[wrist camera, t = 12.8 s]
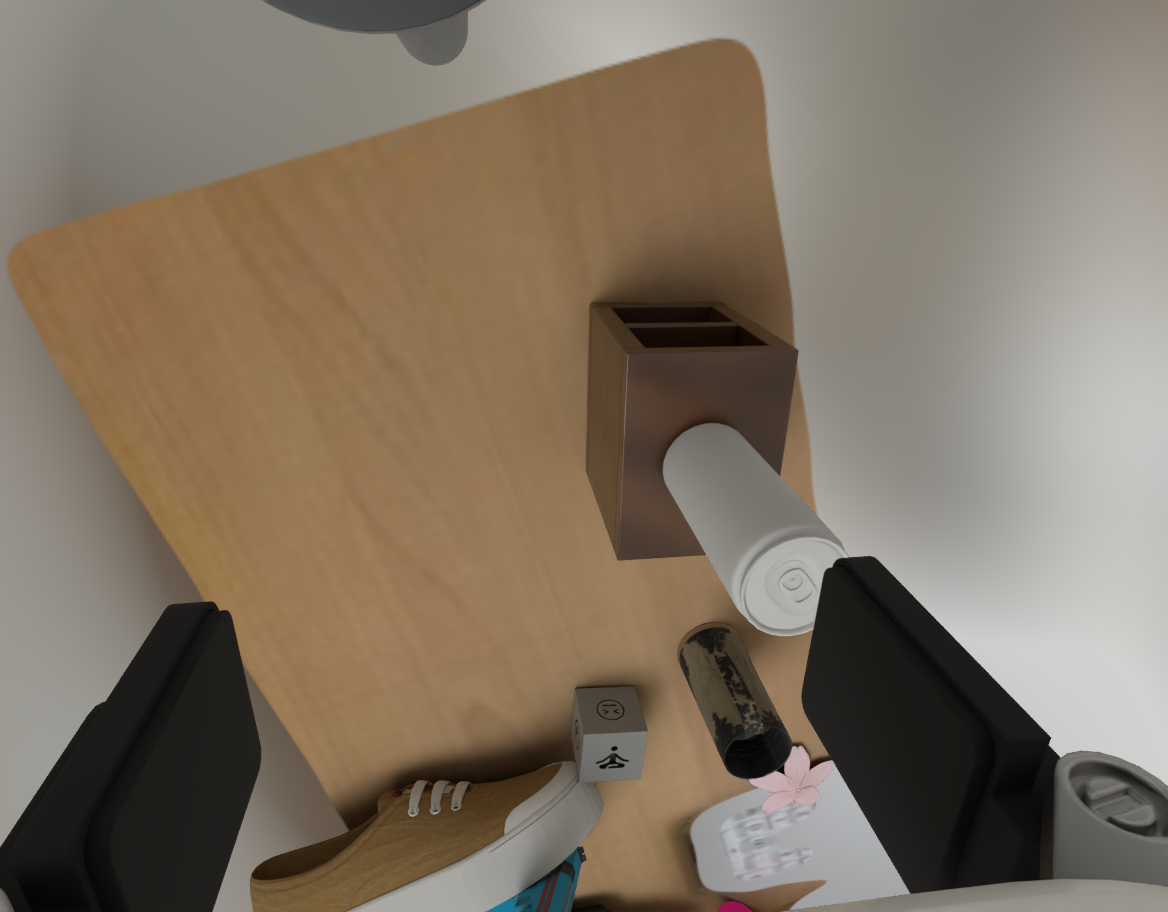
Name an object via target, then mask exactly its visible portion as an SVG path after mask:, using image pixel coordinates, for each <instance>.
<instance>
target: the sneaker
mask: <svg viewBox="0 0 1168 912" xmlns="http://www.w3.org/2000/svg"><path fill="white" fill-rule="evenodd" d="M603 805H604V803H603V800H602V798H601V796H600V794H599V792H598V790H597V788H596V786H595V782H583V783H579V780H578V774H577V768H576V762H573V761H562V762H557V763H553V764H550V765H548V766H545V767H543V768H540V769H538V770H536V771H533V772H530V773H527V774H523V775H520V776H517V777H513V778H510V779H506V780H502V781H497V782H490V783H479V784H471V783H470V782H466V781H460V782H459V783H458V784H452V783H451V782H449V781H437V782H436V783H435V784H431V782H429V781H423V780H418V781H417V782H416V783H415V784H410V785H406V786H404V787H403V788H402V789H397V790H392V791H389V792H386V793H383V794H382V795H381V796H380V798H379V800H378V812H377V813H376V814H375V815H374V816H372V817H371V818H370V819H368V820H367V821H366V822H364V823H363V824H362V825H360V826H359V827H357V828H355V829H353V830H351V831H349V832H347V833H345V834H343V835H341V836H338V837H335V838H332V839H329V840H326V841H323V842H320V843H317V844H314V845H310V846H307V847H304V848H300V849H297V850H293V851H291V852H287V853H284V854H281V855H278V856H275V857H272V858H270V859H268V860H266V861H264V862H263V863H261V864H260V865H259V866H257V867H256V868H255V870H254V871H253V872H252V875H251V878H250V894H251V900H252V907H253V912H486V911H488V910H490V909H492V908H494V907H495V906H497V905H499V904H501V903H503V902H505V901H506V900H508V899H510V898H512V897H514V896H515V895H517V894H519V893H520V892H522V891H523V890H525V889H526V888H528V887H529V886H531V885H532V884H534V883H535V882H536V881H538V880H539V879H541V878H542V877H544V876H545V875H546V874H548V873H549V872H550V871H552V870H553V869H554V868H556V867H557V866H558V865H559V864H560V863H562V862H563V861H564V860H565V859H566V858H567V857H568V856H569V855H570V854H571V853H573V852H574V850H575V849H576V848H577V847H578V846H579V845H580V844H581V843H582V842H583V841H584V840H585V838H586V837H587V836H588V834H589V833H590V832H591V830H592V829H593V827H594V825H595V824H596V822H597V820H598V818H599V816H600V814H601V811H602V809H603Z"/></svg>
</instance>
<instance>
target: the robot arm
mask: <svg viewBox="0 0 1168 912" xmlns="http://www.w3.org/2000/svg"><path fill="white" fill-rule="evenodd" d="M802 704H803V709H804V712H805V714H806V716H807V718H808V720H809V721H810V723H811V725H812V726H813V728H814V730H815V732H816V733H817V735H818V737H819V738H820V740H821V742H822V744H823V745H824V747H825V749H826V750H827V752H828V754H829V755H830V757H831V759H832V761H833V762H834V764H835V766H836V767H837V769H838V771H839V772H840V774H841V776H842V778H843V779H844V781H845V783H846V784H847V786H848V788H849V790H850V791H851V793H852V795H853V796H854V798H855V800H856V801H857V803H858V805H859V807H860V808H861V810H862V812H863V813H864V815H865V817H866V819H867V820H868V822H869V823H870V825H871V827H872V829H873V830H874V832H875V834H876V836H877V837H878V839H879V841H880V842H881V844H882V846H883V848H884V849H885V851H886V853H887V854H888V856H889V858H890V859H891V861H892V863H893V865H894V866H895V868H896V870H897V871H898V873H899V875H900V876H901V878H902V880H903V882H904V883H905V885H906V887H907V888H908V890H909V892H910V894H906V895H899V896H892V897H885V898H877V899H870V900H862V901H855V902H848V903H842V904H833V905H826V906H819V907H811V908H804V909H797V910H789V911H782V912H1168V786H1167V785H1166V784H1164V783H1163V782H1162V781H1161V780H1159V779H1158V778H1157V777H1155V776H1154V775H1152V774H1150V773H1149V772H1147V771H1145V770H1143V769H1142V768H1141V767H1139V766H1136V765H1134V764H1132V763H1130V762H1127V761H1125V760H1123V759H1121V758H1118V757H1115V756H1111V755H1107V754H1103V753H1100V752H1090V751H1078V752H1072V753H1067V754H1066V755H1064V756H1063V757H1062V758H1060V757H1059V756H1058V754H1057V753H1056V752H1055V751H1054V750H1053V749H1052V748H1051V747H1050V746H1049V742H1050V739H1051V737H1050V736H1049V735H1048V734H1047V733H1046V732H1045V731H1044V730H1043V729H1042V728H1041V727H1040V726H1039V725H1038V724H1037V723H1036V722H1035V721H1034V720H1033V719H1032V718H1031V717H1030V715H1028V713H1027V712H1026V711H1025V710H1024V709H1023V708H1022V707H1021V706H1020V705H1019V704H1018V703H1017V702H1016V701H1015V700H1014V699H1013V698H1012V697H1011V696H1010V695H1009V694H1008V693H1007V692H1006V691H1005V690H1004V689H1003V688H1002V687H1001V686H1000V685H999V684H998V683H997V682H996V681H995V680H994V679H993V678H992V677H991V676H990V675H989V673H988V672H987V671H986V670H985V669H984V668H983V667H982V666H981V665H980V664H979V663H978V662H977V661H976V660H975V659H974V658H973V657H972V656H971V655H970V654H969V653H968V652H967V651H966V650H965V649H964V648H963V647H962V646H961V645H960V644H959V643H958V642H957V641H956V640H955V639H954V638H953V636H952V635H951V634H950V633H949V632H948V631H947V630H946V629H945V628H944V627H943V626H942V625H941V624H940V623H939V622H938V621H937V620H936V619H935V618H934V617H933V616H932V615H931V614H930V613H929V612H928V611H927V610H926V609H925V608H924V607H923V606H922V605H921V604H920V603H919V602H918V601H917V600H916V599H915V598H914V597H913V595H912V594H910V592H909V591H908V590H907V589H906V588H905V587H904V586H903V585H902V584H901V583H900V582H899V581H898V580H897V579H896V578H895V577H894V576H893V575H892V574H891V573H890V572H889V571H888V570H887V569H886V568H885V567H884V566H883V565H882V564H881V563H880V562H879V561H878V560H877V559H876V558H874V557H871V556H864V557H849V558H839V559H837V560H836V561H835V562H834V564H833V566H832V567H831V568H827V569H826V570H825V572H824V575H823V580H822V585H821V590H820V596H819V601H818V607H817V612H816V617H815V623H814V628H813V634H812V639H811V645H810V650H809V655H808V661H807V666H806V672H805V677H804V683H803V688H802ZM260 763H261V746H260V740H259V736H258V731H257V727H256V722H255V718H254V713H253V709H252V704H251V700H250V696H249V691H248V687H247V683H246V678H245V673H244V669H243V664H242V660H241V656H240V651H239V647H238V642H237V638H236V633H235V629H234V625H233V620H232V617H231V614H230V613H229V611H227V610H223V611H219V610H218V607H217V605H216V604H215V603H214V602H212V601H210V602H196V603H182V604H172V605H169V606H168V607H167V608H166V609H165V611H164V612H163V614H162V615H161V617H160V618H159V620H158V621H157V623H156V624H155V626H154V627H153V629H152V631H151V632H150V634H149V635H148V637H147V638H146V640H145V641H144V643H143V644H142V646H141V648H140V649H139V651H138V652H137V654H136V655H135V657H134V659H133V660H132V662H131V663H130V665H129V666H128V668H127V669H126V671H125V672H124V674H123V676H122V677H121V678H120V680H119V682H118V683H117V685H116V686H115V688H114V689H113V691H112V693H111V694H110V696H109V697H108V699H107V700H106V702H102V703H101V704H99V705H97V706H95V707H94V709H93V710H92V711H91V712H90V713H89V714H88V716H87V717H86V719H85V720H84V722H83V723H82V725H81V726H80V728H79V729H78V731H77V732H76V734H75V735H74V737H73V738H72V740H71V741H70V743H69V744H68V746H67V747H66V749H65V750H64V752H63V753H62V755H61V756H60V758H59V759H58V761H57V762H56V764H55V765H54V767H53V769H52V770H51V772H50V773H49V775H48V776H47V778H46V779H45V781H44V782H43V784H42V785H41V787H40V788H39V790H38V791H37V793H36V794H35V796H34V797H33V799H32V800H31V802H30V803H29V805H28V806H27V808H26V809H25V811H24V812H23V814H22V815H21V817H20V819H19V820H18V821H17V823H16V824H15V826H14V828H13V829H12V830H11V832H10V834H9V835H8V836H7V838H6V839H5V841H4V843H3V844H2V846H1V847H0V912H212V911H213V908H214V905H215V902H216V899H217V896H218V893H219V890H220V887H221V884H222V881H223V878H224V875H225V872H226V869H227V866H228V863H229V860H230V857H231V854H232V851H233V848H234V845H235V842H236V839H237V836H238V833H239V830H240V827H241V824H242V821H243V818H244V814H245V812H246V809H247V806H248V803H249V800H250V796H251V794H252V791H253V788H254V784H255V782H256V779H257V776H258V772H259V769H260Z"/></svg>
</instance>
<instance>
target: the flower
mask: <svg viewBox="0 0 1168 912" xmlns="http://www.w3.org/2000/svg"><path fill="white" fill-rule="evenodd" d="M809 768H810V759H809V756H808V754H807V753H806V751H805V749H804V748H803V747H802V746H799V748H797V747H795V746H793V747H792V750H791V754H790V756H789V758H788V759H787V761H786V762H785V768H784V772H785V775H786V776H785V775H784V774H782V773H780V772H777V771H775V772H773V773H771V774H769V775H767V776H765V777H761V778H757V779H750V780H749V781H750V783H752V784H753V785H755V786H756V787H759V788H761V789H763V790H765V791H768V792H773V793H776V794H774V795H771V796H769V797H768V798H766V799H765V800H764V802H763V804H762V808H761V809H762V811H764V810H765V812H766V813H771V812H774V811H776V810H778V809H780V808H782V807H784V806H786V805H788V804H789V803H791V802H792V801H793V800H794V801H795V803H796V804H808V805H813V804H814V803H816V802H819V801H820V798H821V797H820V793H819V790H818V789H817V788H815V786H817V785H818V784H820V783H822V782H823V781H824V780H825V779H826V778H827V777H828V776H829V774H830V773H831V772H832V771H833V770H834V769H835V768H836V766H835V764H834V762H833V761H832V760H831V761H827V762H823V763H821V764H819V765H817V766H815V767H814V768H812V769H811V770H809ZM799 788H800V791H799V792H796V790H797V789H799Z"/></svg>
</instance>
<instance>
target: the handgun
mask: <svg viewBox="0 0 1168 912" xmlns="http://www.w3.org/2000/svg"><path fill="white" fill-rule="evenodd" d="M582 853H584V849H583V846H582V847H579V846H578V847H577V848H576V849H575V850H574V852H573V853H571V854H570V855H569V856H568V857H567V858H566V859H565V860H564V861H563V862H562V863H560V864H559V865H558V866H557V867H556V868H554V869H553V870H552V871H550V872H549V873H548V874H546V875H545V876H544V877H542V878H541V879H539V880H538V881H536V882H535V883H534V884H532V885H531V886H529V887H528V888H526V889H525V890H523V891H522V892H520V893H519V894H517V895H515V896H514V897H512V898H510V899H508V900H506V901H505V902H503V903H501V904H499V905H497V906H495V907H494V908H492V909H490V910H488V911H487V912H571V908H572V904H573V899H574V895H575V890H576V886H577V881H578V877H579V872H580V868H581V863H583V862H584V861H586V860H587V859H586V856H585V854H584V855H582Z"/></svg>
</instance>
